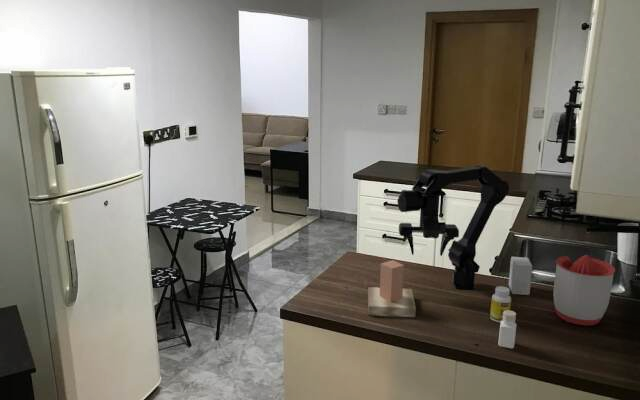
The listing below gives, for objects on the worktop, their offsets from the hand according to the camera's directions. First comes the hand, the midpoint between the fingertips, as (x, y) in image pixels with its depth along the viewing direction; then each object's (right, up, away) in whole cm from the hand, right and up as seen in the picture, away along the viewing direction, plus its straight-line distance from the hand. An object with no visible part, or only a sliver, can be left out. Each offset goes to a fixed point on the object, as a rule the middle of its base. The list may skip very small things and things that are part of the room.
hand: (426, 254), depth 170 cm
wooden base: (-13, -15, -7) cm, 21 cm away
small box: (+32, -13, +5) cm, 35 cm away
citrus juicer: (+43, -17, -13) cm, 48 cm away
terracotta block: (-13, -12, -8) cm, 20 cm away
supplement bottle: (+19, -18, -15) cm, 30 cm away
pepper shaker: (+15, -21, -30) cm, 40 cm away
